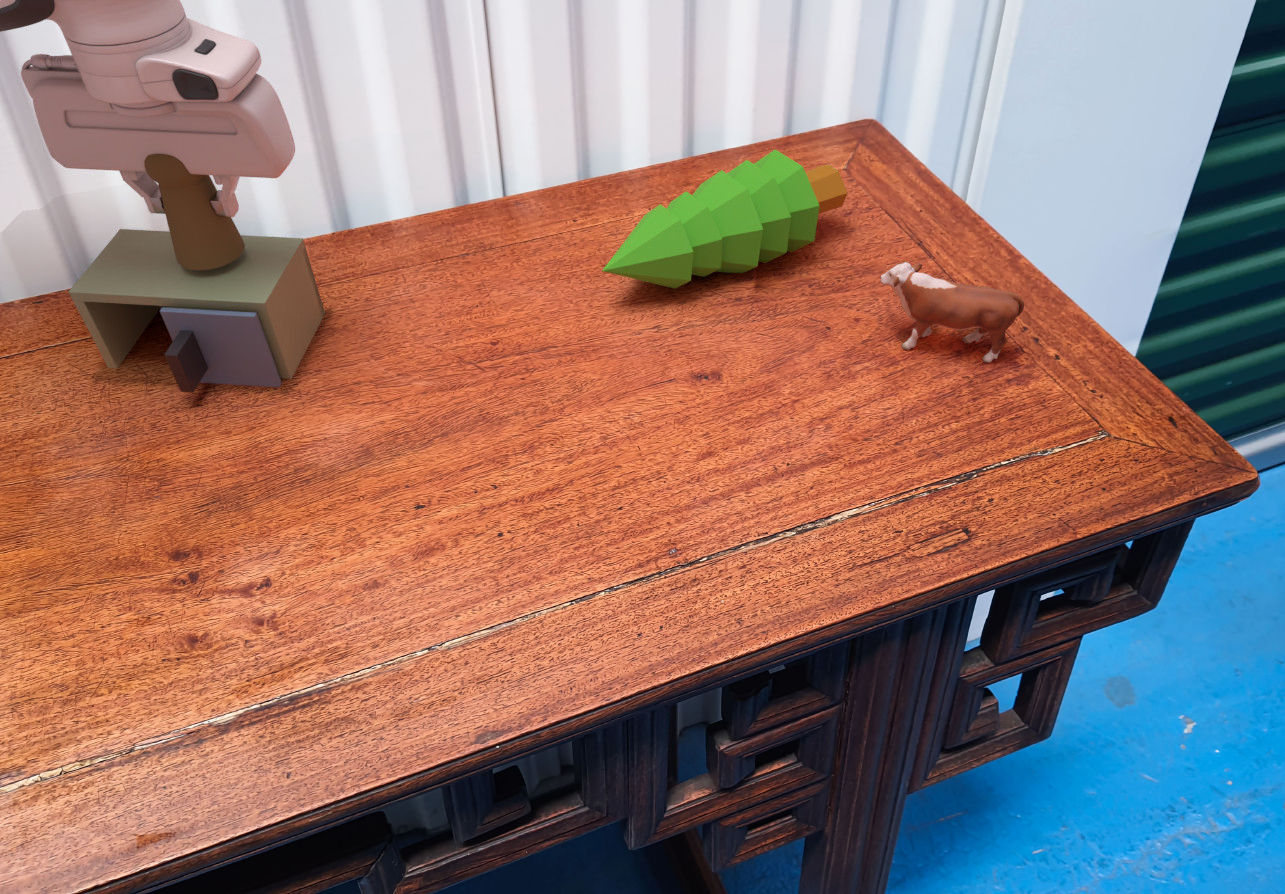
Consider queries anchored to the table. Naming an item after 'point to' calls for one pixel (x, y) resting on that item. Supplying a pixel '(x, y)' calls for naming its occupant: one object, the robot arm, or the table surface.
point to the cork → (193, 216)
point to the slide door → (218, 349)
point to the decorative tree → (730, 222)
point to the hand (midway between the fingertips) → (196, 211)
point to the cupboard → (199, 292)
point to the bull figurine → (953, 306)
